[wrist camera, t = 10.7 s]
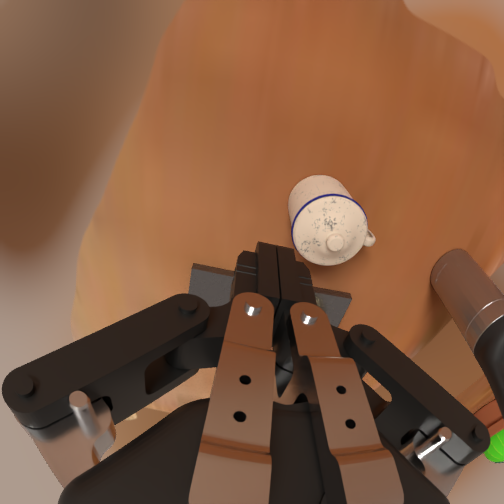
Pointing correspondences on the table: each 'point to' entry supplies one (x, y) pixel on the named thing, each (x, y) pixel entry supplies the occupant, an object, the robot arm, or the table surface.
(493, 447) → the potted cactus
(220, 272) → the plate
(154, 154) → the table surface
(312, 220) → the teacup with lid
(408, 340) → the table surface
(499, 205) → the table surface
